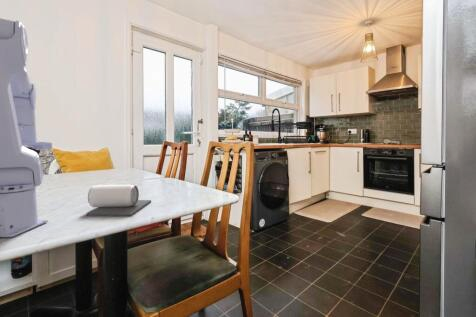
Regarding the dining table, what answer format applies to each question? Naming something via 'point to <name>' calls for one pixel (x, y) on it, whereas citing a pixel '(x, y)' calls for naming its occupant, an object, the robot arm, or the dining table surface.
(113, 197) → the can
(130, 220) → the dining table surface
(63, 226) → the dining table surface
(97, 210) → the mat
